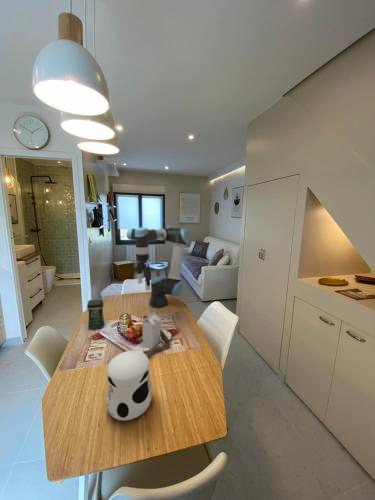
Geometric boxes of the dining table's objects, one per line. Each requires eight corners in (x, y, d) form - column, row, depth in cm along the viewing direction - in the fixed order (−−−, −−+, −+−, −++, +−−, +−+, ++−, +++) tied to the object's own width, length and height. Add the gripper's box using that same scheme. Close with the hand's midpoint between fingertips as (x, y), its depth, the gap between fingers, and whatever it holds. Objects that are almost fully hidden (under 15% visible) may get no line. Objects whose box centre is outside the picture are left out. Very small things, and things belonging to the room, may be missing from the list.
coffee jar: (87, 330, 130) (85, 303, 127) (90, 324, 138) (88, 298, 134) (103, 329, 132) (101, 302, 129) (105, 322, 140) (104, 297, 137)
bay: (160, 335, 127) (159, 327, 126) (169, 347, 115) (169, 339, 114) (136, 342, 119) (135, 334, 118) (143, 356, 107) (143, 348, 106)
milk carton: (142, 346, 115) (141, 315, 112) (150, 339, 121) (150, 310, 118) (152, 350, 112) (152, 318, 108) (160, 343, 118) (160, 313, 115)
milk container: (99, 403, 81) (96, 362, 78) (138, 379, 93) (136, 343, 90) (120, 437, 69) (117, 391, 65) (161, 404, 81) (160, 364, 77)
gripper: (130, 250, 132) (131, 281, 136) (143, 258, 111) (145, 294, 115) (141, 249, 136) (142, 279, 140) (156, 256, 115) (157, 292, 119)
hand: (143, 286), depth 128 cm, fingers open, 13 cm apart
